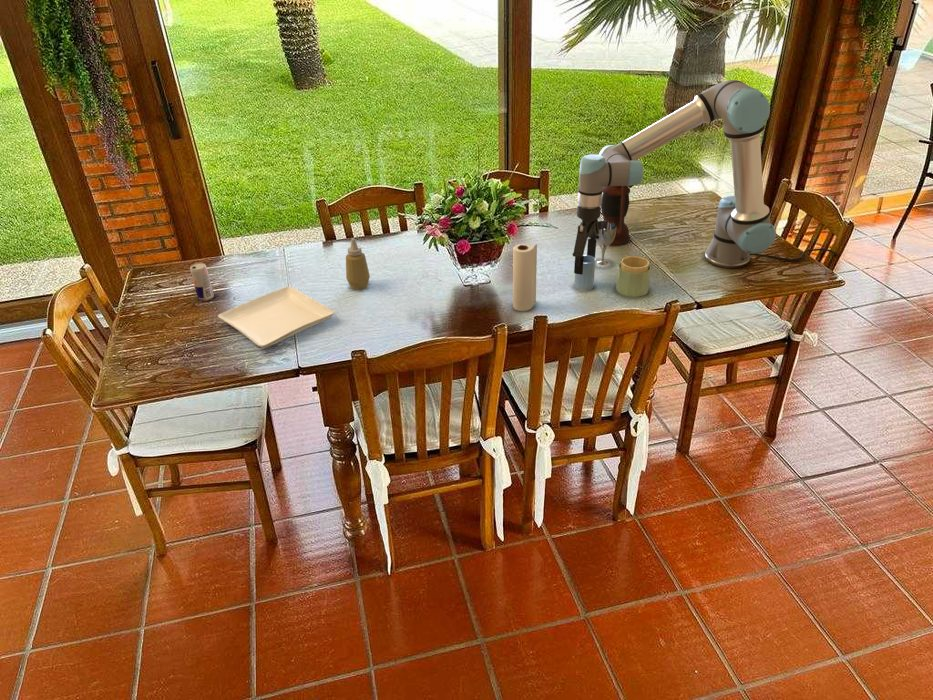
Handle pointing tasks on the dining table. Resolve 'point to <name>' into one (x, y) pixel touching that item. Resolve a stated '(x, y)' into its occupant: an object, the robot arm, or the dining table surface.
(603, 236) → the wine glass
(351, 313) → the dining table surface
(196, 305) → the dining table surface
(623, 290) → the stack base cup
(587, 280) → the top cup
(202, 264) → the energy drink
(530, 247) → the paper towel roll
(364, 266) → the squeeze bottle
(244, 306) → the square plate
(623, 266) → the middle cup
